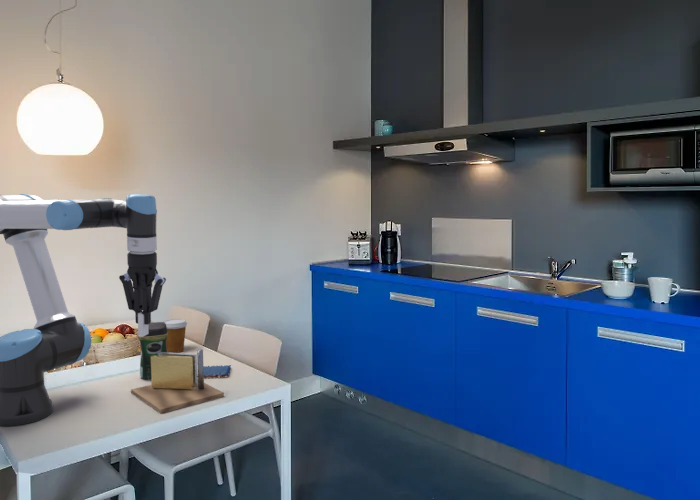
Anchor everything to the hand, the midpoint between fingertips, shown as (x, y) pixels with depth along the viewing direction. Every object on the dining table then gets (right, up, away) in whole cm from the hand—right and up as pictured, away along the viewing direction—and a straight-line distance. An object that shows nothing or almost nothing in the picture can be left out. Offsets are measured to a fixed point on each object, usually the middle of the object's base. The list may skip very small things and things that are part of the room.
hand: (143, 334), depth 156 cm
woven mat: (+11, -20, +38) cm, 44 cm away
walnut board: (+4, -21, +17) cm, 28 cm away
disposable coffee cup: (-12, -17, +66) cm, 69 cm away
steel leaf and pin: (+4, -21, +22) cm, 30 cm away
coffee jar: (-9, -20, +35) cm, 41 cm away
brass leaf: (+2, -19, +19) cm, 27 cm away
